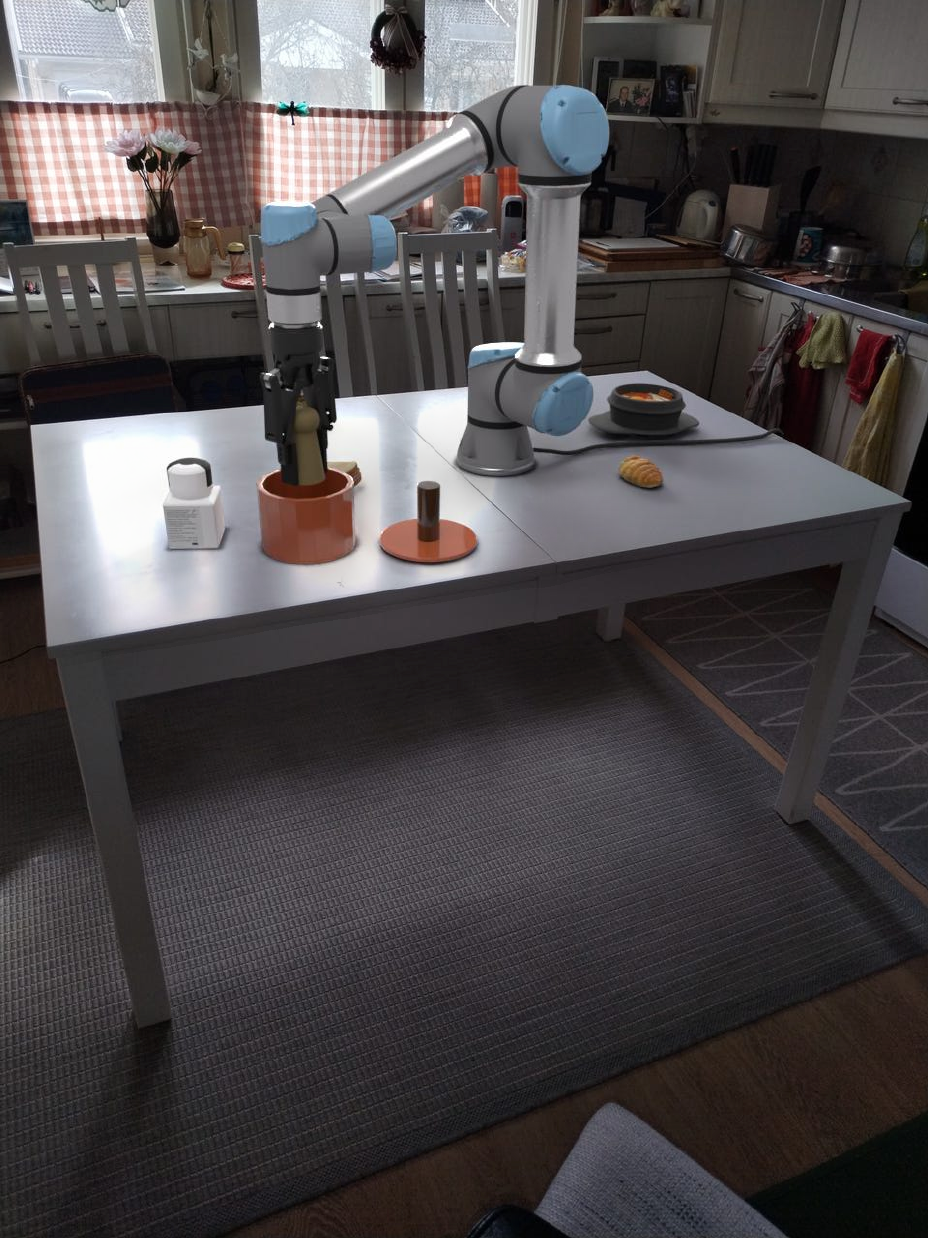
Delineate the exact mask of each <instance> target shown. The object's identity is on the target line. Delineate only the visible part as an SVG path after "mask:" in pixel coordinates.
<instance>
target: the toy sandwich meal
mask: <svg viewBox="0 0 928 1238" xmlns="http://www.w3.org/2000/svg"><path fill="white" fill-rule="evenodd" d="M327 467H329V468H333V469H337V470H341V471H343V472H345V473H346V474H348V475H350V476H351V478H352V480H353V482H354V488H355V487H357V486H358V485H359V483H360V482H361V481H362V479H363V475H362V472H361V471H360V470H361V469H360V468H359V467H358V462H357V461H356V460H352V461H327Z"/></svg>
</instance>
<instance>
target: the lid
mask: <svg viewBox="0 0 928 1238" xmlns="http://www.w3.org/2000/svg"><path fill="white" fill-rule="evenodd" d="M416 485H417V486H416V518H411V519H406V520H402V521H398V522H395V523H393V524H390V525H389V526H387V527H386V528H385V529H384V530H382V532H381V533H380V535H379V544H380V547H381V548H382V549H383V550H384V551H385V552H387V553H388V554H389V555H392V556H393V557H396V558H398V559H401V560H406V561H411V562H419V563H439V562H447V561H452V560H456V559H459V558H462V557H464V556H467V555H469V554H470V553H471V552H473V551H474V550H475V548H476V547H477V543H478V537H477V534H476V533H475V531H474V530H472V529H471V528H470V527H468V526H467V525H465V524H462V523H460V522H456V521H453V520H450V519H443V518H441V484H440V483H439V482H437V481H434V480H423V481H420V482H418V483H417V484H416Z"/></svg>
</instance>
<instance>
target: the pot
mask: <svg viewBox="0 0 928 1238" xmlns="http://www.w3.org/2000/svg"><path fill="white" fill-rule="evenodd" d="M327 468H328V472H326V473H324V474H325V479H324V481H322V482H320V483H318V484H313V485H297V486H293V485H290V484H286V483H283V482H282V477H281V468H280V469H276V470H273V471H269V472H268V473H265V474H264V475H263V476H261V477H259V480H258V481H257V482H256V493H257V504H258V506H257V507H258V515H259V526H260V536H261V537H260V538H261V545H262V550H263V552H264V553H265V554H266V555H267V556H268V557H270V558H272V559H273V560H276V561H279V562H283V563H287V564H293V565H316V564H317V565H318V564H323V563H329V562H332V561H335V560H338V559H341V558H343V557H345V556H347V555H348V554H349V553H350V552H352V551H353V550H354V548H355V545H356V540H357V539H356V537H357V535H356V511H355V487H354V482H353V480H352V478H351V476H350V475H348V474H346V473H345V472H343V471H341V470H337V469H333V468H329V467H327Z"/></svg>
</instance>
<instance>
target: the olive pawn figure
mask: <svg viewBox="0 0 928 1238" xmlns="http://www.w3.org/2000/svg"><path fill="white" fill-rule="evenodd" d="M318 426H319V415H318V413H317V411H316V410H315V409H313V408H312V407H307V406H296V413H295V420H294V427H293V434H292V441H291V442H293V443H296V452H297V467H298V482H299V485H313V484H318V483H320V482H322V481H324V479H325V474H324V469H323V464H322V458H321V453H320V448H319V443H318V437H317V432H316V429H317V427H318Z"/></svg>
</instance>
